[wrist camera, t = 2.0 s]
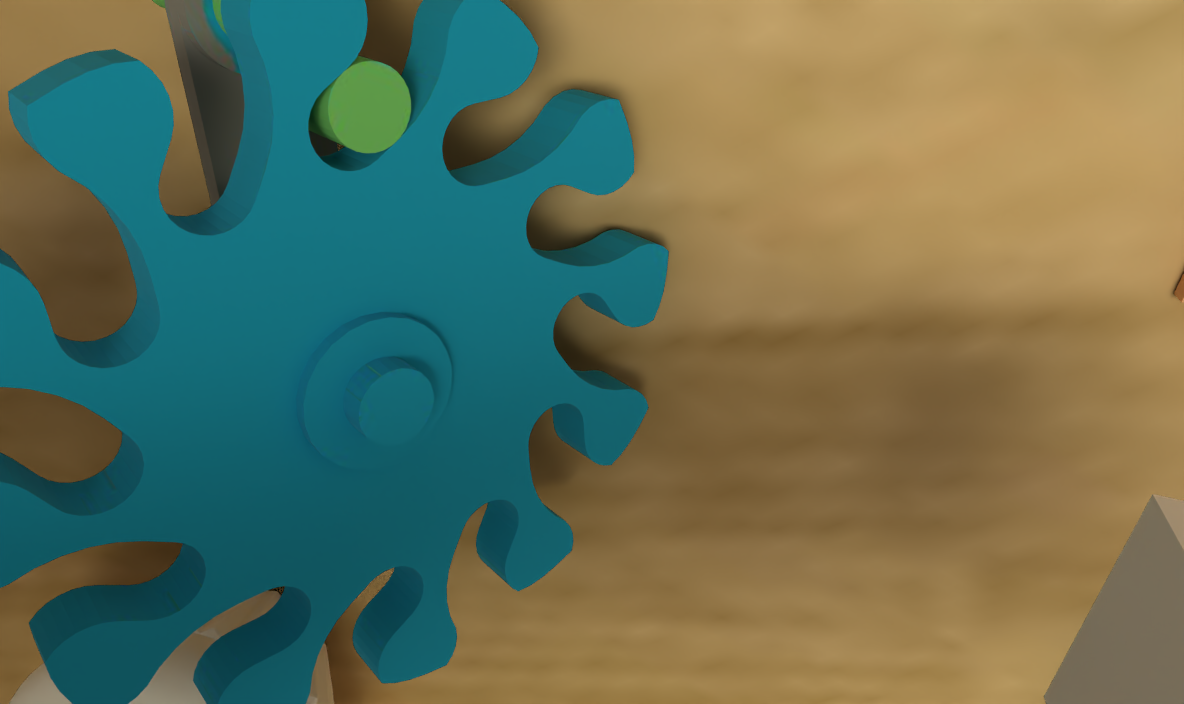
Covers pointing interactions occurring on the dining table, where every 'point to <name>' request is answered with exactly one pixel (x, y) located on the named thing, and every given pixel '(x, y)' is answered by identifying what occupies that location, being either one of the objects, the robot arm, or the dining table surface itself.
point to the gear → (313, 341)
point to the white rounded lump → (186, 664)
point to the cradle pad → (1180, 290)
